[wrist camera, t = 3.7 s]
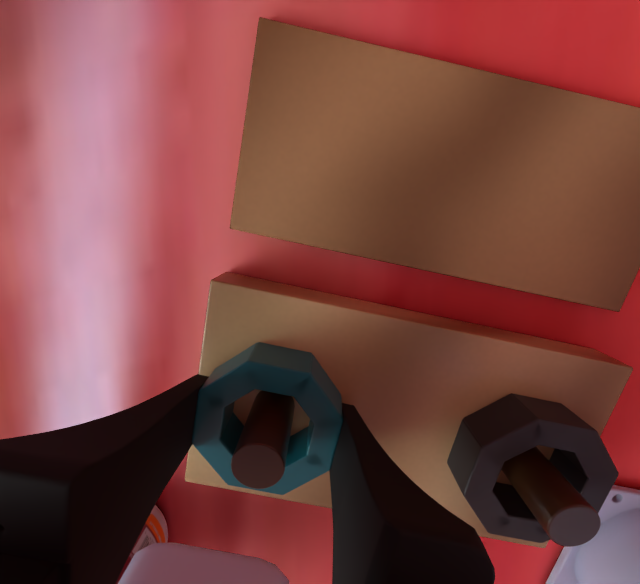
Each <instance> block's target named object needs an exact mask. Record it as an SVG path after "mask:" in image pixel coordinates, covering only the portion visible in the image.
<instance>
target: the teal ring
mask: <svg viewBox="0 0 640 584" xmlns="http://www.w3.org/2000/svg"><path fill="white" fill-rule="evenodd" d="M254 389H257V390H262V391H267V392H272V393H277V394H283V395H288V396H293V397H294V398H295V399H296V401H297V402H298V403H299V405H300V406H301V407H302V409H303V410H304V411H305V413H306V414H307V415H308V417H309V418H310V422H309V426H308V427H306V428H304V429H303V430H301V431H299V432H297V433H295V434H294V435H292V436H290V440H289V446H288V452H287V458H286V465H285V471H284V474H283V476H282V478H281V479H280V480H279V481H278V482H277V483H276V484H275V485H273V486H271V487H268V488H264V489H254V488H250V487H247V486H245V485H243V484H241V483H240V482H239V481H238V480H237V479H236V478H235V477H234V475H233V473H232V470H231V459H232V456H233V453H234V451H235V448H236V446H237V443H238V441H239V438H240V436H241V433H242V430H243V428H244V425H243V424H242V422H241V421H240V420H239V419H238V417H237V416H236V415H235V414H234V412H233V409H234V403H235V401H236V400H238V399H239V398H241V397H243V396H244V395H246V394H248V393H249V392H251V391H253V390H254ZM342 424H343V413H342V398H341V393H340V392H339V390H338V389H337V388H336V386H335V385H334V383H333V382H332V381H331V379H330V378H329V376H328V375H327V373H326V372H325V371H324V369H323V368H322V366H321V365H320V363H319V362H318V361H317V359H316V358H315V356H314V355H313V354H312V353H311V352H306V351H301V350H296V349H291V348H286V347H281V346H276V345H271V344H266V343H262V342H258V343H255V344H254V345H252V346H251V347H249V348H247V349H246V350H244V351H243V352H241V353H239V354H238V355H236V356H235V357H233V358H231V359H230V360H228V361H226V362H225V363H223V364H222V365H220V366H218V367H217V368H215V369H214V371H213V372H212V374H211V375H210V376H209V378H208V379H207V380H206V382H205V383H204V384H203V386H202V387H201V388H200V390H199V392H198V398H197V406H196V413H195V421H194V428H193V436H192V443H193V445H194V447H195V448H196V449H197V450H198V451H199V452H200V454H201V455H202V456H203V457H204V458H205V459H206V461H207V462H208V463H209V464H210V465H211V466H212V468H213V469H214V470H215V471H216V472H217V473H218V475H219V476H220V477H221V478H222V479H223V480H224V482H225V483H227V485H230V486H236V487H241V488H246V489H252V490H257V491H262V492H268V493H273V494H279V495H284V494H286V493H288V492H290V491H292V490H294V489H296V488H298V487H300V486H301V485H303V484H305V483H307V482H309V481H311V480H313V479H315V478H317V477H318V476H320V475H322V474H324V473H326V472H328V471H330V469H331V466H332V462H333V458H334V454H335V451H336V447H337V443H338V439H339V435H340V432H341V428H342Z"/></svg>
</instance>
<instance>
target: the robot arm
mask: <svg viewBox="0 0 640 584" xmlns="http://www.w3.org/2000/svg"><path fill="white" fill-rule="evenodd" d="M208 378H209V376H204V375H199V374H197V375H195V376H193V377H191V378H189V379H188V380H186V381H184V382H182V383H180V384H178V385H177V386H175V387H173V388H171V389H169V390H167V391H165V392H163V393H161V394H159V395H157V396H155V397H153V398H151V399H149V400H147V401H145V402H142V403H140V404H138V405H136V406H133V407H131V408H128V409H126V410H123V411H121V412H118V413H115V414H112V415H110V416H106V417H103V418H100V419H97V420H93V421H90V422H87V423H83V424H80V425H76V426H72V427H68V428H63V429H59V430H54V431H50V432H45V433H39V434H33V435H27V436H21V437H15V438H9V439H1V440H0V584H116V582H117V580H118V578H119V575H120V573H121V571H122V569H123V567H124V565H125V563H126V561H127V559H128V557H129V555H130V553H131V551H132V549H133V547H134V545H135V543H136V541H137V539H138V537H139V535H140V533H141V531H142V529H143V527H144V525H145V523H146V521H147V519H148V517H149V515H150V513H151V511H152V509H153V508H154V506H155V504H156V502H157V500H158V498H159V497H160V495H161V493H162V491H163V490H164V488H165V486H166V485H167V483H168V482H169V480H170V479H171V477H172V476H173V474H174V472H175V471H176V469H177V468H178V466H179V465H180V463H181V462H182V460H183V459H184V457H185V455H186V454H187V452H188V451H189V449H190V447H191V446H192V444H193V443H192V436H193V428H194V421H195V413H196V406H197V398H198V392H199V390H200V388H201V387H202V386H203V384H204V383H205V382H206V380H207V379H208ZM342 413H343V424H342V428H341V432H340V435H339V439H338V443H337V447H336V451H335V454H334V458H333V462H332V466H331V469H330V471H329V472H330V486H331V499H332V513H333V579H332V584H494V580H495V572H494V567H493V565H492V562H491V560H490V558H489V556H488V554H487V552H486V549H485V547H484V545H483V543H482V541H481V539H480V537H479V536H478V534H477V532H476V530H475V528H473V527H472V526H470V525H469V524H467V523H466V522H464V521H463V520H461V519H460V518H459V517H457V516H456V515H454V514H453V513H451V512H450V511H448V510H447V509H446V508H444V507H443V506H442V505H440V504H439V503H438V502H437V501H435V500H434V499H433V498H431V497H430V496H429V495H428V494H427V493H425V492H424V491H423V490H422V489H421V488H420V487H419V486H418V485H416V484H415V483H414V482H413V481H412V480H411V479H410V478H409V477H408V476H407V475H406V474H405V473H404V472H403V471H402V470H401V469H400V468H399V467H398V466H397V465H396V463H395V462H394V461H393V460H392V459H391V458H390V457H389V456H388V454H387V453H386V452H385V450H384V449H383V448H382V447H381V445H380V444H379V443H378V441H377V440H376V439H375V437H374V436H373V434H372V433H371V431H370V430H369V428H368V427H367V425H366V424H365V422H364V421H363V419H362V417H361V416H360V414H359V413H358V411H357V409H356V408H355V406H354V405H350V404H345V403H342ZM598 515H599V517H600V520H601V525H600V529H599V531H598V533H597V534H596V535H595V537H593V538H592V539H591V540H590V541H588V542H586V543H584V544H582V545H579V546H573V547H567V546H564V548H563V550H562V552H561V554H560V556H559V558H558V560H557V562H556V564H555V566H554V567H553V569H552V571H551V573H550V575H549V577H548V579H547V581H546V583H545V584H640V490H637V489H632V488H627V487H622V486H617V485H613V486H612V488H611V490H610V492H609V494H608V496H607V498H606V500H605V501H604V503H603V505H602V507H601V509H600V511H599V513H598ZM118 584H289V580H288V579H287V577H286V576H285V575H284V574H283V573H282V572H281V571H280V569H279V568H278V567H277V566H276V565H275V564H273V563H270V562H268V561H265V560H263V559H260V558H256V557H251V556H245V555H240V554H234V553H229V552H223V551H218V550H212V549H206V548H201V547H195V546H190V545H184V544H179V543H153V544H151V545H149V546H147V547H145V548H143V549H141V550H139V551H138V552H136V553H135V554H134V556H133V558H132V560H131V562H130V563H129V565H128V567H127V569H126V570H125V572H124V574H123V576H122V577H121V579H120V581H119V583H118Z"/></svg>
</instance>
